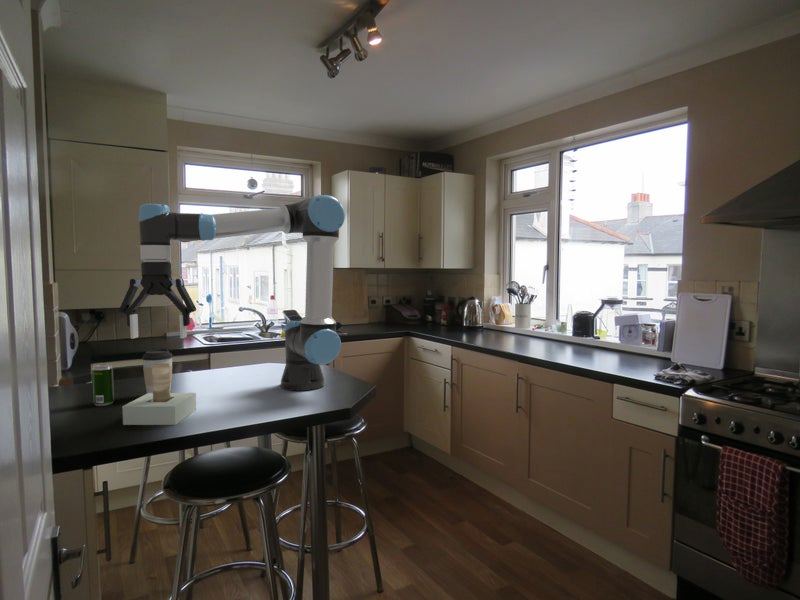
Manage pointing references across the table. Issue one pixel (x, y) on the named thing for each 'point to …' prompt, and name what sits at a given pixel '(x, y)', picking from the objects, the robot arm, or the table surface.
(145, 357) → the coffee cup
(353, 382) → the table surface
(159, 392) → the beech pin
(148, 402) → the bore block
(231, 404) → the table surface
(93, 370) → the beer can
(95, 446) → the table surface
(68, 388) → the table surface
